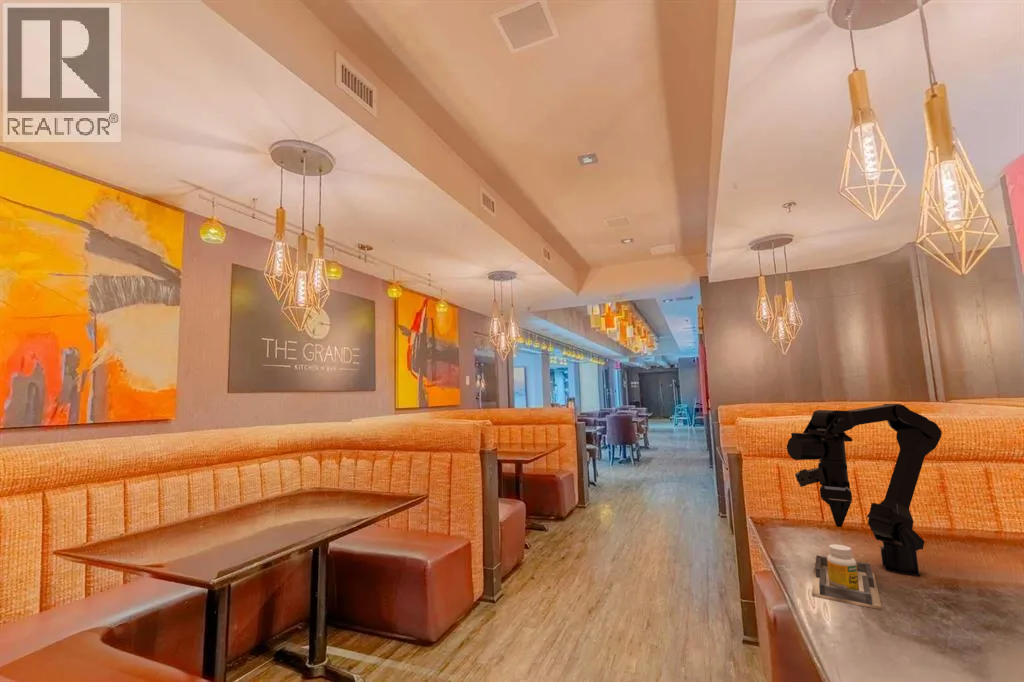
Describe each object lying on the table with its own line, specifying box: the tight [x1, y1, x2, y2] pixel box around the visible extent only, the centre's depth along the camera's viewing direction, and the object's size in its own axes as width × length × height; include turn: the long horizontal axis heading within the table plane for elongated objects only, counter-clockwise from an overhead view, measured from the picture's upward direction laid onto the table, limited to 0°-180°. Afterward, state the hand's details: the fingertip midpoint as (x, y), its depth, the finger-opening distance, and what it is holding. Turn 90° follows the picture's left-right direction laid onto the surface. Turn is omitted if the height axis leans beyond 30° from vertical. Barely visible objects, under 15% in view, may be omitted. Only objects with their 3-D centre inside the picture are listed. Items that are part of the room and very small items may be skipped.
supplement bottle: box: [826, 544, 859, 591], centre depth 100 cm, size 5×5×10 cm
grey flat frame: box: [811, 555, 883, 611], centre depth 105 cm, size 12×22×3 cm, turn 145°
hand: (838, 522), depth 114 cm, fingers open, 9 cm apart
